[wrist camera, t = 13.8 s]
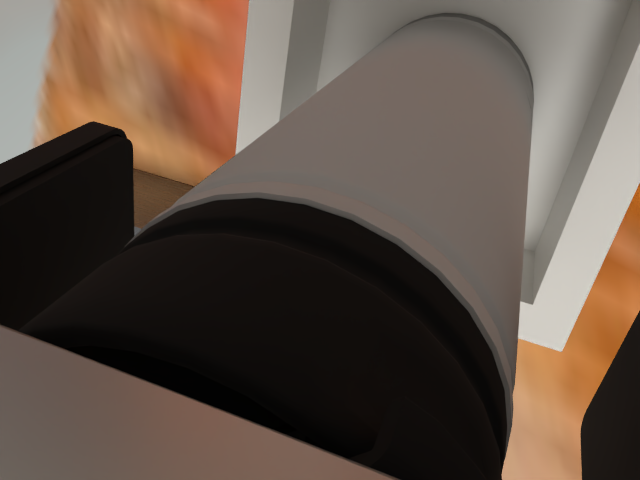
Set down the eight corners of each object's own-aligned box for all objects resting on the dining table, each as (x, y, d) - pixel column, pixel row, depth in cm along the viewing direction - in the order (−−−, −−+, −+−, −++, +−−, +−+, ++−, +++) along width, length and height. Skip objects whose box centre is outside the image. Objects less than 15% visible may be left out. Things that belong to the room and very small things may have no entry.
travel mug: (577, 117, 22) (681, 801, 5) (424, 205, 25) (178, 791, 8) (480, -35, 21) (187, 193, 4) (333, 79, 24) (-167, 466, 7)
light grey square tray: (328, -122, 23) (261, -135, 18) (693, -58, 21) (746, -50, 15) (286, 186, 30) (227, 246, 24) (558, 264, 27) (561, 351, 22)
